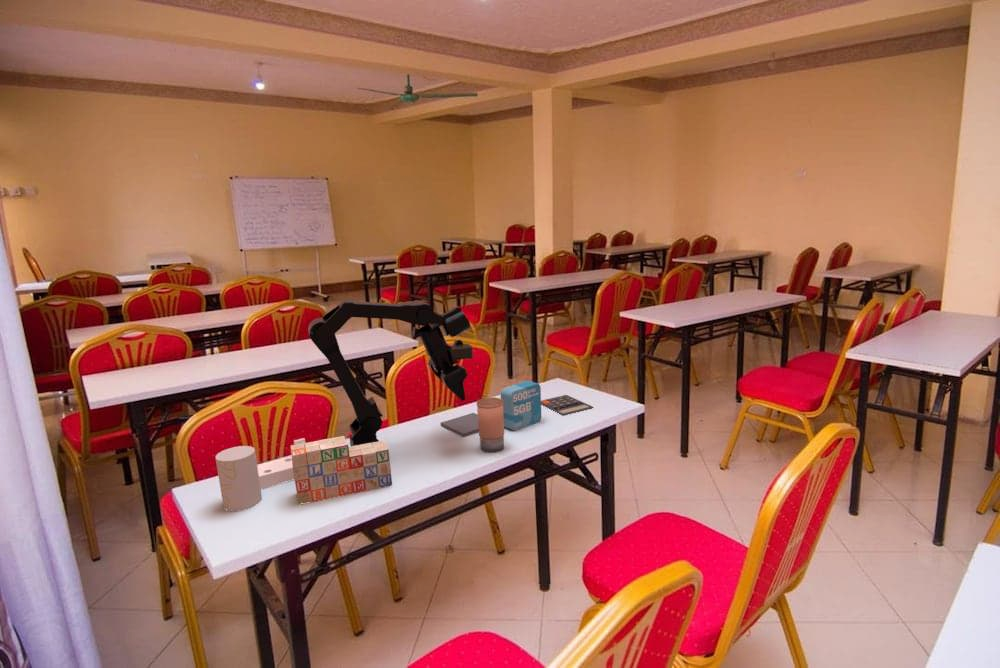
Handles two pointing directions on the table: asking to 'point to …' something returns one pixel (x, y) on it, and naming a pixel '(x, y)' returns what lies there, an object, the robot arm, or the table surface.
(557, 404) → the calculator
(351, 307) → the robot arm
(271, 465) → the bracket
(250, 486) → the beige upright cylinder
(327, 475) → the stack of blocks
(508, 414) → the data package
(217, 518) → the table surface
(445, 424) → the charcoal mat
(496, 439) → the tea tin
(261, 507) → the table surface
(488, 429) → the terracotta canister
